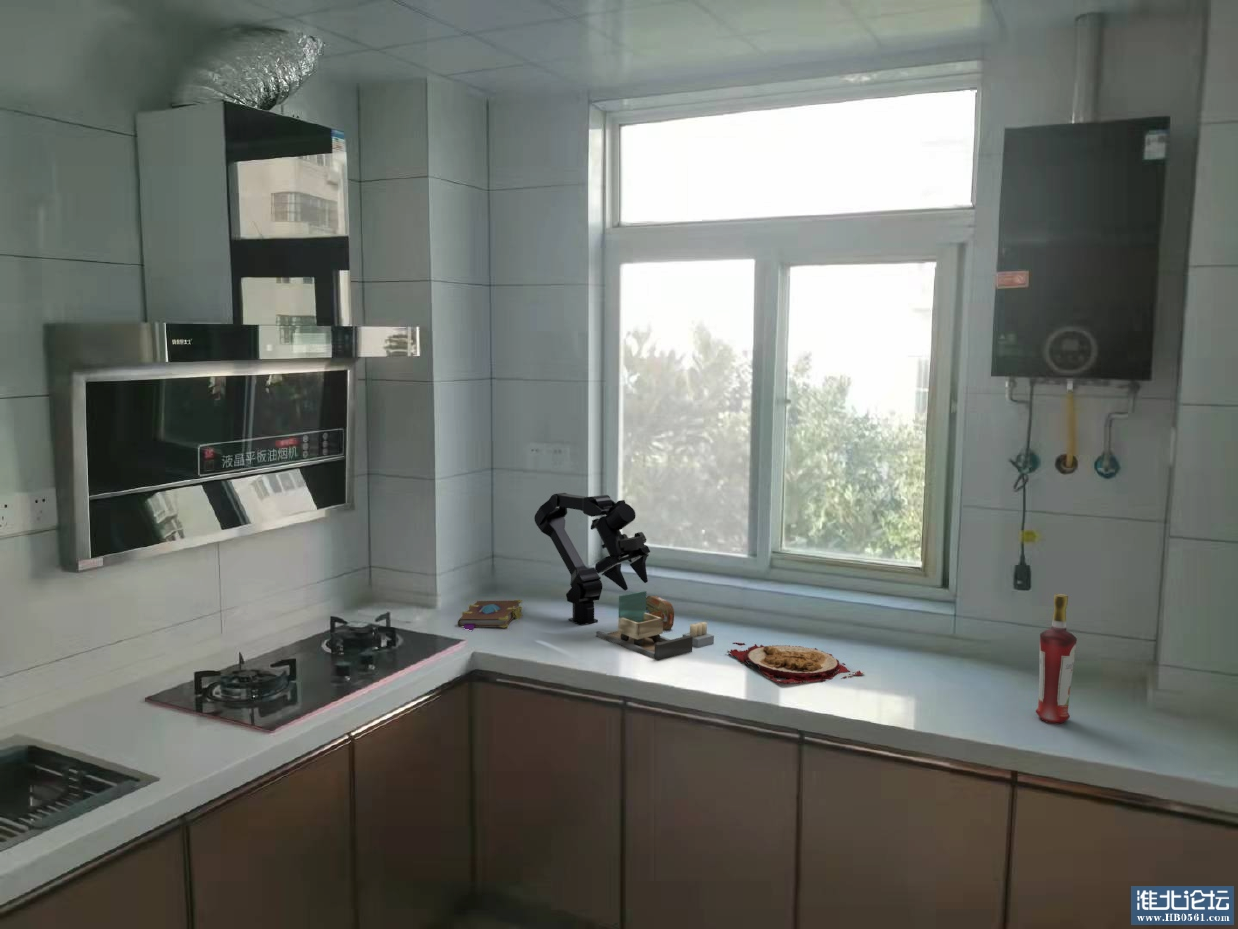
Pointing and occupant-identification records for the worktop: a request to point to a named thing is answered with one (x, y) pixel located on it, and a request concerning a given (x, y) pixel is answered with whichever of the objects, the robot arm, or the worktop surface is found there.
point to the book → (490, 614)
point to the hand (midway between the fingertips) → (636, 586)
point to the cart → (637, 619)
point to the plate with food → (792, 663)
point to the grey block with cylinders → (700, 635)
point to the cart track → (652, 645)
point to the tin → (660, 610)
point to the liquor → (1056, 666)
